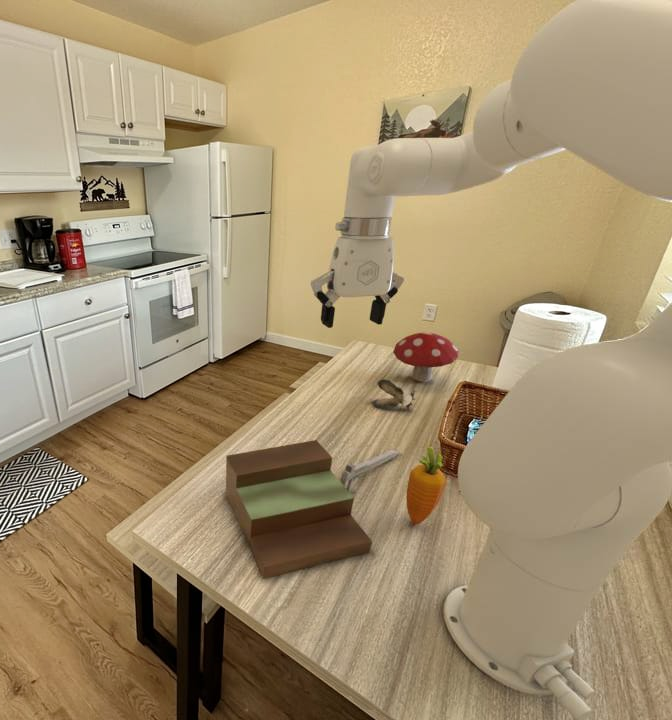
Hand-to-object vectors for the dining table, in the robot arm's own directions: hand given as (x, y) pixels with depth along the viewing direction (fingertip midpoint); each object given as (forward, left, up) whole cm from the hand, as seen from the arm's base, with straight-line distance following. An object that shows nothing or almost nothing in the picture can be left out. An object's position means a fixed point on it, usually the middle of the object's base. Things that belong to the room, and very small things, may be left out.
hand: (351, 324), depth 72 cm
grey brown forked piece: (+12, -25, -29) cm, 41 cm away
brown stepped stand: (-16, +18, -29) cm, 37 cm away
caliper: (-8, -3, -29) cm, 31 cm away
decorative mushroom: (+22, -42, -29) cm, 56 cm away
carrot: (-21, -2, -29) cm, 37 cm away
